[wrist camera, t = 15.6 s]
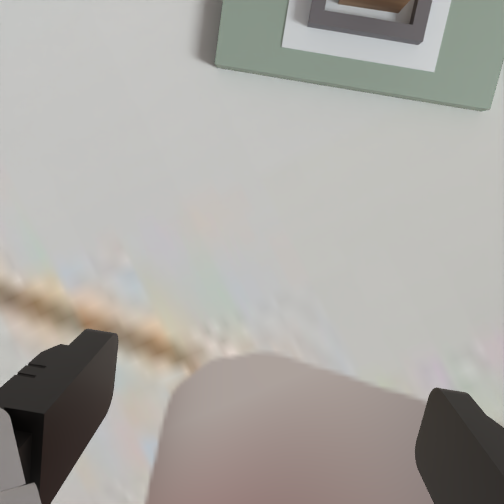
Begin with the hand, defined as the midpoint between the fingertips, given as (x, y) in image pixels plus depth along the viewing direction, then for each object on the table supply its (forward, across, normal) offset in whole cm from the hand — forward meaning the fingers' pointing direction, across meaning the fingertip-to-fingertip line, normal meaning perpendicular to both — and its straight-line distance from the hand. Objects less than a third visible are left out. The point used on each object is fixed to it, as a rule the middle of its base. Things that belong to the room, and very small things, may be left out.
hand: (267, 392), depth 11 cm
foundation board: (+28, -5, -20) cm, 35 cm away
